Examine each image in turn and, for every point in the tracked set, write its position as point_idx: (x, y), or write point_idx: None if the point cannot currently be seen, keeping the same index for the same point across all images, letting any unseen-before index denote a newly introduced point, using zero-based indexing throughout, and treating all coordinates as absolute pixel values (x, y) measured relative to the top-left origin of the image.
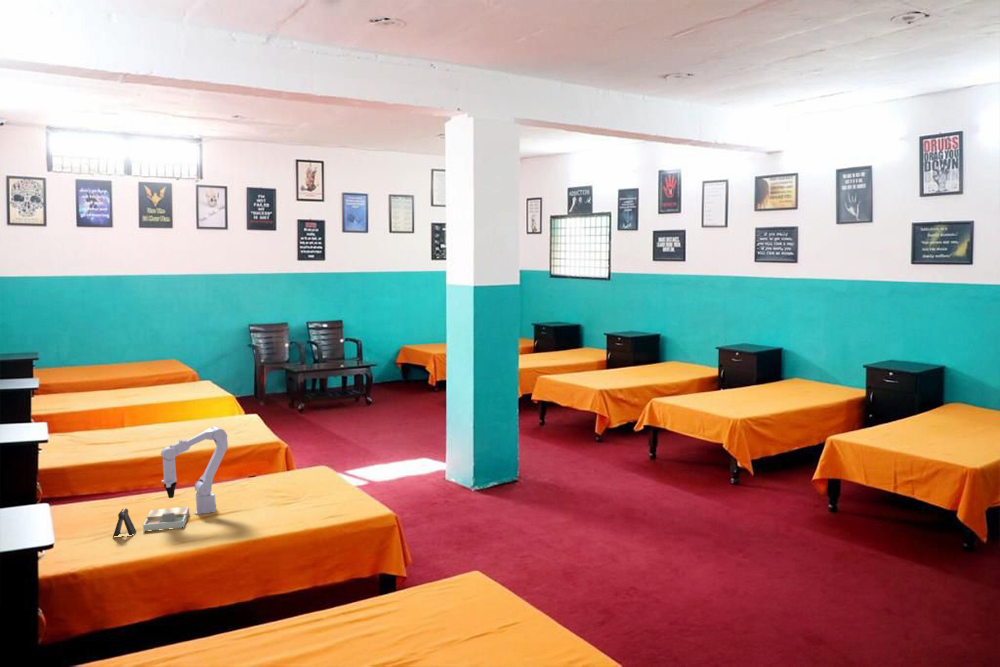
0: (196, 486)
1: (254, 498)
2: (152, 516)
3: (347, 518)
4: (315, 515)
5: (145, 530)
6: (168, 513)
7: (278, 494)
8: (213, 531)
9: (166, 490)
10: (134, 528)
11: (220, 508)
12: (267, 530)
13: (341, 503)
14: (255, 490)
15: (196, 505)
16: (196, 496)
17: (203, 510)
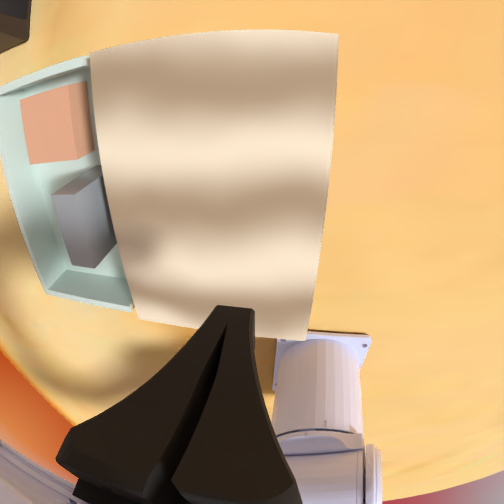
0: (323, 492)
1: (389, 450)
2: (98, 96)
3: None
4: None
5: (18, 93)
6: (77, 235)
7: (382, 471)
8: (52, 345)
9: (137, 389)
10: (5, 38)
11: None
12: (81, 416)
13: None
14: (468, 440)
15: (314, 370)
16: (298, 428)
17: (278, 370)
